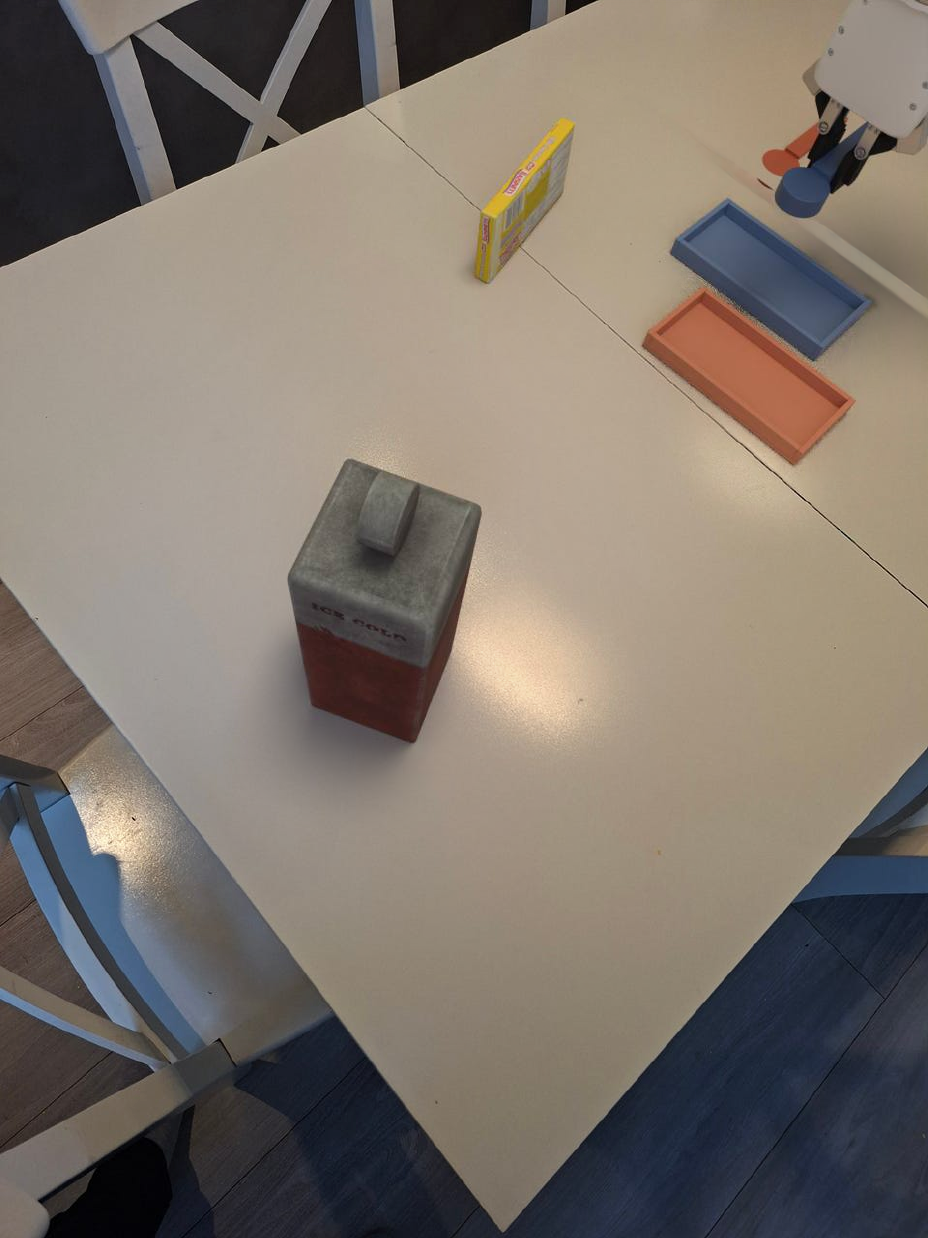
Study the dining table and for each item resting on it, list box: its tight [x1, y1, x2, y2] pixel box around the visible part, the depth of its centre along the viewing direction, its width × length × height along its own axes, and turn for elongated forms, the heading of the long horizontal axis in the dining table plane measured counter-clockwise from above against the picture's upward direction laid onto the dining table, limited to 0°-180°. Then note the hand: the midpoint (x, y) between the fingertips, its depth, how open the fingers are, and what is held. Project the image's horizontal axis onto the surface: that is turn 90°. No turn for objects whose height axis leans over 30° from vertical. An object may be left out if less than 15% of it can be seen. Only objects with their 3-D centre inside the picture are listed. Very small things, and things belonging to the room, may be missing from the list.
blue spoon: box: [774, 121, 869, 219], centre depth 82 cm, size 14×4×2 cm, turn 135°
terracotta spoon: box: [756, 116, 849, 191], centre depth 102 cm, size 14×4×2 cm, turn 136°
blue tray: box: [669, 197, 873, 362], centre depth 93 cm, size 19×9×2 cm, turn 46°
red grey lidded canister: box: [287, 458, 483, 744], centre depth 60 cm, size 9×11×28 cm
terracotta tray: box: [641, 285, 857, 466], centre depth 88 cm, size 19×9×2 cm, turn 46°
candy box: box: [474, 117, 576, 284], centre depth 90 cm, size 16×2×8 cm, turn 149°
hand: (826, 176), depth 82 cm, fingers closed on blue spoon, 2 cm apart
